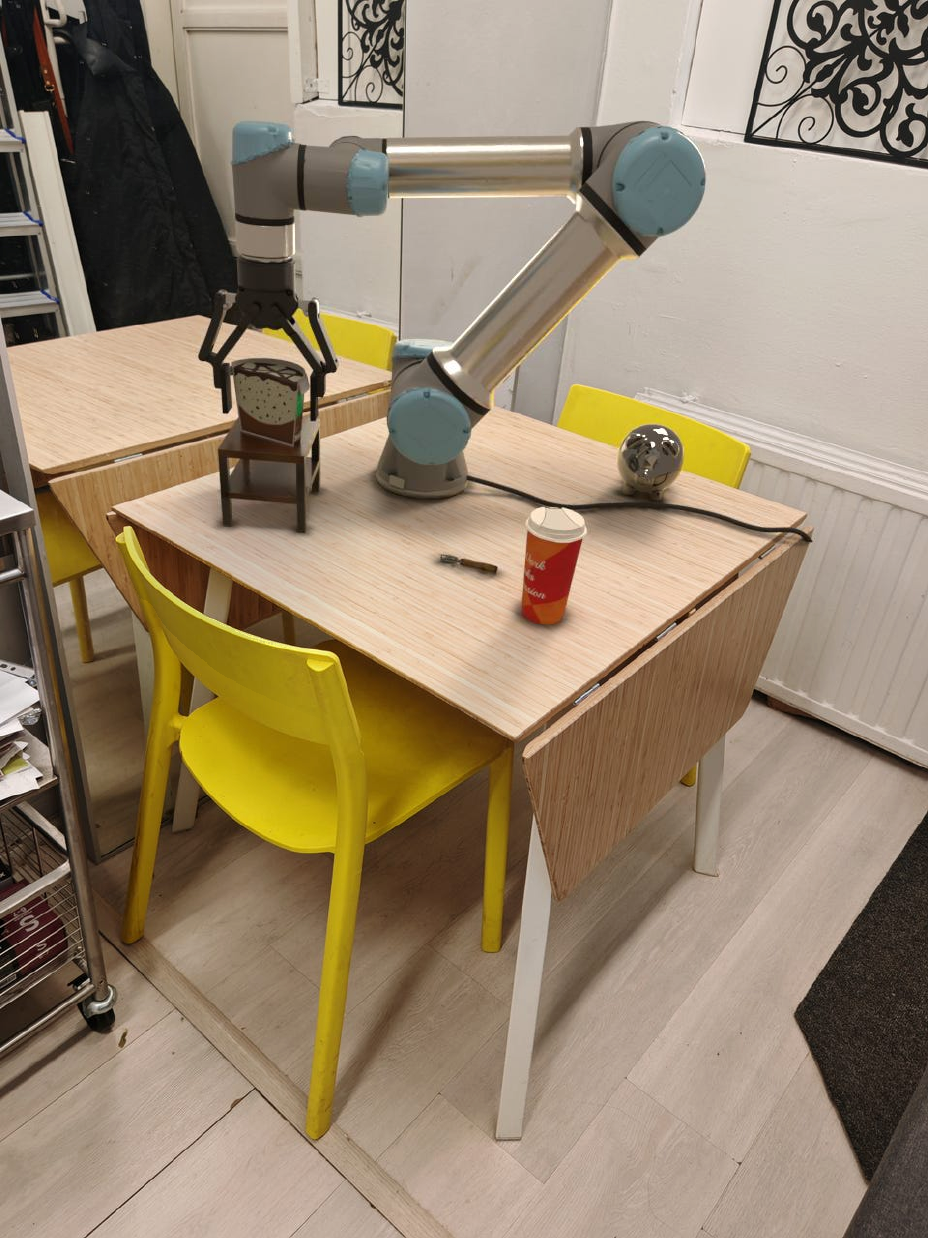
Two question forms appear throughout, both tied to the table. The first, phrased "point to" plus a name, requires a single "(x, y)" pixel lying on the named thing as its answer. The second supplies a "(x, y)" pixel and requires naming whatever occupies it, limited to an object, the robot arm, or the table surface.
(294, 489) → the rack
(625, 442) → the piggy bank
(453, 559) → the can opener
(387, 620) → the table surface
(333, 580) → the table surface
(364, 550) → the table surface
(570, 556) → the paper cup
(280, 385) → the food container
